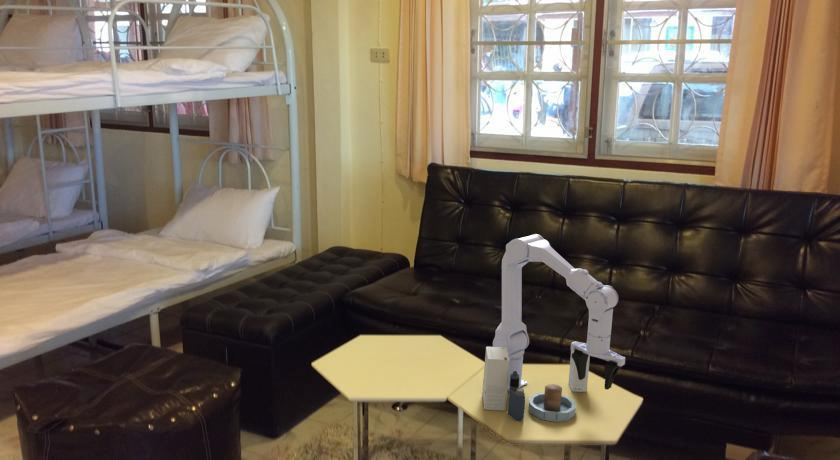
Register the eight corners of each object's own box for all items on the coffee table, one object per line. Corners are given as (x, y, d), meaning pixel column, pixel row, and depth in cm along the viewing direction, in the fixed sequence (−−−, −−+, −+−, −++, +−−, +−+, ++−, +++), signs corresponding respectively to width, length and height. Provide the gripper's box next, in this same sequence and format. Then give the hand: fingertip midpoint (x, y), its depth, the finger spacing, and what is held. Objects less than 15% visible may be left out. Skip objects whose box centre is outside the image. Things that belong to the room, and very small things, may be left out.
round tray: (519, 410, 188) (520, 401, 187) (545, 396, 196) (546, 388, 196) (558, 426, 180) (559, 418, 179) (583, 411, 188) (584, 403, 188)
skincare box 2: (587, 392, 200) (590, 352, 197) (571, 392, 200) (575, 352, 197) (582, 383, 205) (586, 344, 203) (568, 382, 206) (571, 343, 203)
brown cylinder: (540, 408, 188) (541, 387, 187) (550, 403, 191) (551, 382, 190) (553, 414, 185) (555, 393, 184) (563, 409, 188) (565, 388, 187)
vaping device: (513, 411, 187) (516, 369, 184) (525, 420, 183) (528, 377, 180) (505, 413, 186) (508, 370, 183) (517, 422, 181) (520, 378, 179)
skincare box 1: (481, 396, 195) (484, 345, 192) (503, 397, 195) (506, 346, 192) (484, 410, 187) (486, 358, 184) (507, 411, 187) (510, 358, 184)
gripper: (633, 337, 178) (627, 387, 181) (582, 322, 188) (578, 370, 191) (619, 344, 173) (614, 396, 176) (567, 328, 183) (564, 377, 186)
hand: (594, 383), depth 183 cm, fingers open, 7 cm apart
